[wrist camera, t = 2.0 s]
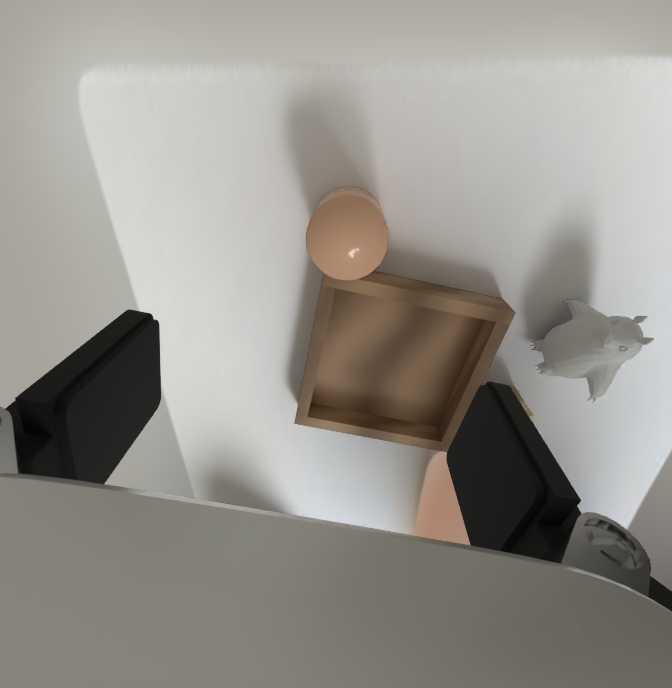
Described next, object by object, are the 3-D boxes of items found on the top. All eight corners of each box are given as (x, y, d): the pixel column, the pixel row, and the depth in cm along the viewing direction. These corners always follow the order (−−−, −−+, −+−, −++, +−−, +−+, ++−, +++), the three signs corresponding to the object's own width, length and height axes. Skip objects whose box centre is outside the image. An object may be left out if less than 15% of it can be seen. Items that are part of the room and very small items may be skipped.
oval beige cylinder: (391, 195, 26) (398, 207, 22) (373, 264, 29) (376, 287, 24) (320, 179, 26) (313, 188, 21) (308, 250, 28) (299, 271, 24)
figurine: (517, 310, 31) (602, 267, 24) (575, 312, 33) (671, 271, 25) (538, 408, 29) (638, 393, 22) (598, 405, 31) (711, 389, 23)
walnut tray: (502, 299, 29) (515, 312, 27) (442, 432, 36) (448, 452, 34) (326, 261, 29) (324, 272, 26) (298, 405, 35) (294, 423, 33)
